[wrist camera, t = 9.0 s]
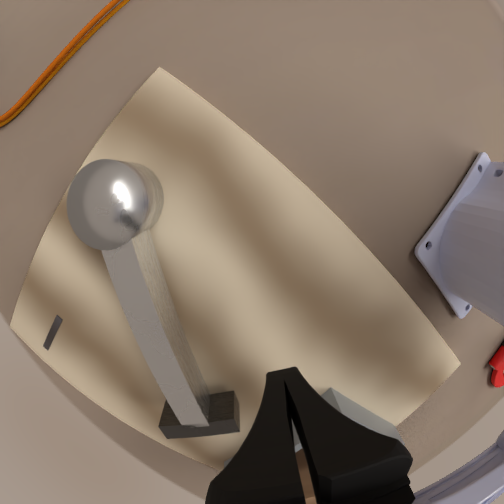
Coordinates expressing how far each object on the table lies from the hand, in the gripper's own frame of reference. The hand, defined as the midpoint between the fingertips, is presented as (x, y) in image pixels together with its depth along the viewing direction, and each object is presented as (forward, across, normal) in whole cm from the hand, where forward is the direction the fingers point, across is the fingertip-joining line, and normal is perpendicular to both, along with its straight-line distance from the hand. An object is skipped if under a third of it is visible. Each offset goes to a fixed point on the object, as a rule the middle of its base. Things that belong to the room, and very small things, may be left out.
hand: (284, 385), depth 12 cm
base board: (+4, +2, +2) cm, 5 cm away
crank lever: (+3, +5, -4) cm, 7 cm away
